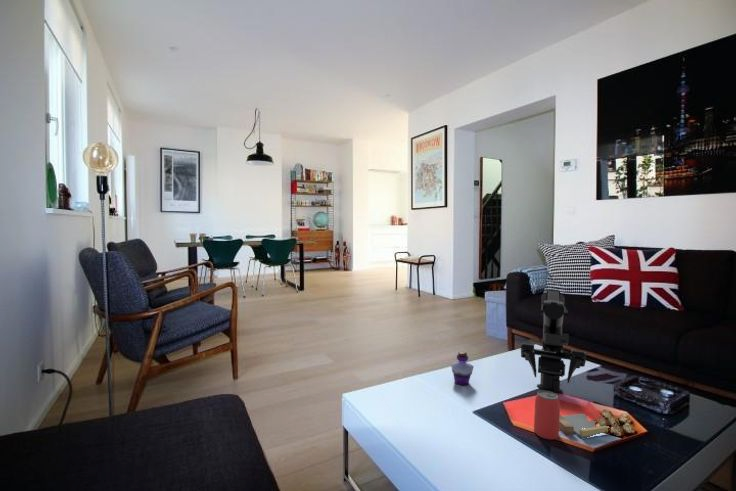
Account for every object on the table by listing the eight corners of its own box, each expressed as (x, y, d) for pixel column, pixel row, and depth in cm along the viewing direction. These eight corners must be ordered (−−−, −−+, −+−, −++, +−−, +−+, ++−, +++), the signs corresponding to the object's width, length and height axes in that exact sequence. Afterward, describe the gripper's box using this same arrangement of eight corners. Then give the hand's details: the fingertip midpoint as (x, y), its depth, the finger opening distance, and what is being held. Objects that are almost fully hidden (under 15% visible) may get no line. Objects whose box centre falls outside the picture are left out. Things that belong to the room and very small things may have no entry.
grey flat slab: (554, 419, 118) (554, 412, 118) (583, 415, 120) (583, 408, 120) (582, 439, 107) (582, 431, 107) (613, 434, 110) (613, 426, 110)
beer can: (561, 442, 106) (563, 400, 105) (536, 439, 107) (538, 398, 106) (554, 429, 112) (556, 390, 111) (531, 427, 113) (533, 388, 113)
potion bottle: (472, 379, 148) (473, 349, 147) (474, 388, 140) (475, 357, 139) (450, 377, 150) (450, 348, 149) (450, 386, 141) (451, 355, 140)
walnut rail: (543, 414, 121) (543, 406, 121) (550, 414, 121) (551, 406, 121) (565, 435, 109) (565, 426, 109) (573, 434, 109) (573, 426, 109)
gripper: (522, 319, 123) (519, 363, 114) (587, 326, 115) (589, 374, 106) (522, 335, 131) (519, 378, 122) (583, 343, 123) (585, 389, 114)
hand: (551, 379), depth 116 cm, fingers open, 9 cm apart
